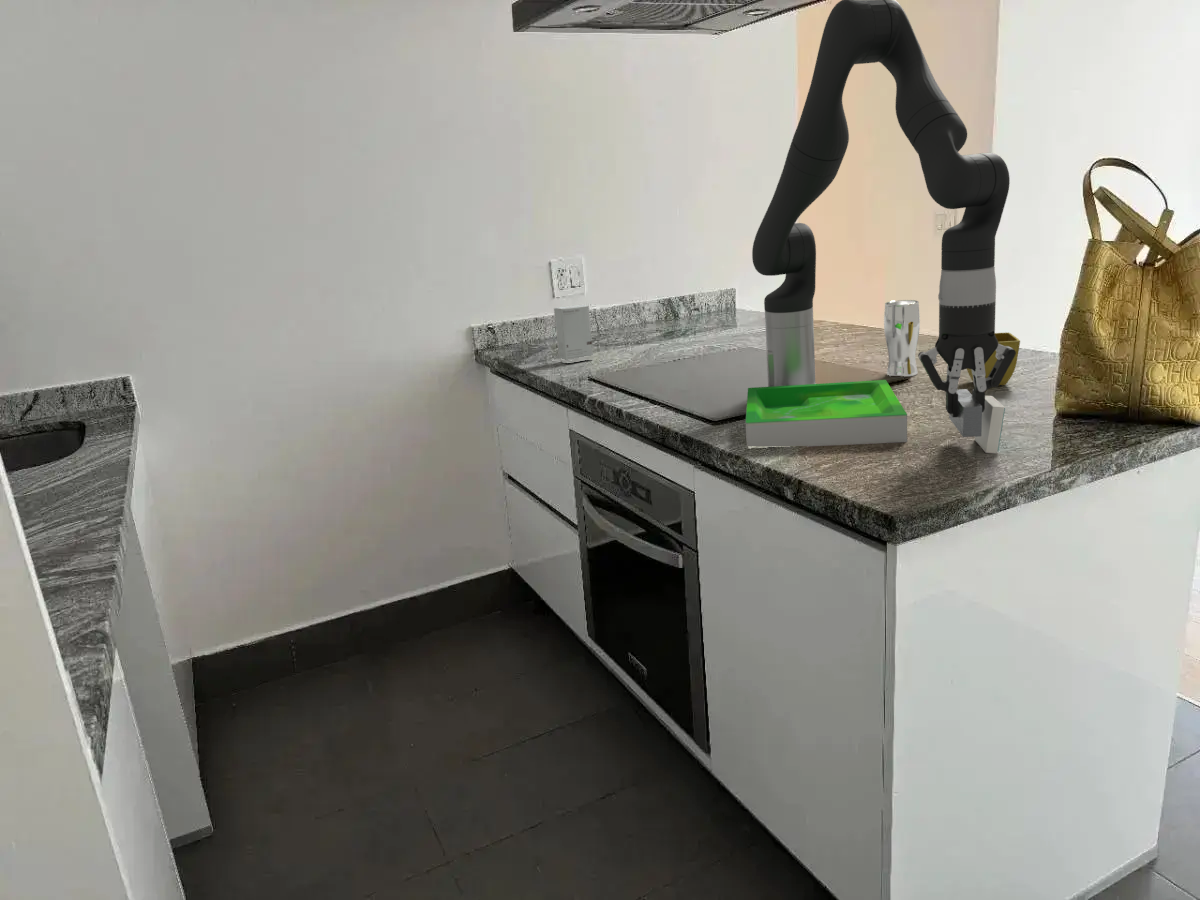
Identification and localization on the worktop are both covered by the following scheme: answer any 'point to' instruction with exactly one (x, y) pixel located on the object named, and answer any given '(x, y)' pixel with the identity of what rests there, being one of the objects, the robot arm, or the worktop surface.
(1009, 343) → the flower pot
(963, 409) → the gray rectangular block
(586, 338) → the skincare box
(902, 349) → the beer glass
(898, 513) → the worktop surface
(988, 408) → the tile
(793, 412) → the tray
